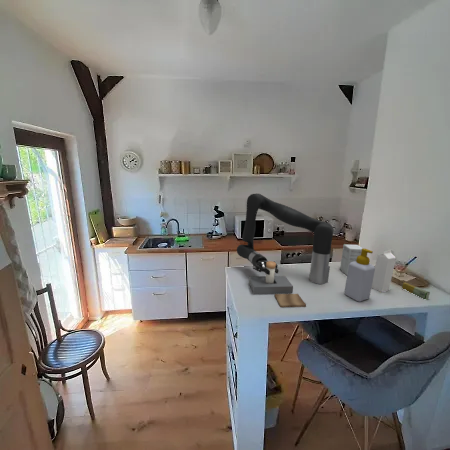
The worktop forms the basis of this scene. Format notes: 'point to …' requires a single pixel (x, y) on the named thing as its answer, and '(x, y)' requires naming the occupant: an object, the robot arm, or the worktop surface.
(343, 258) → the supplement box
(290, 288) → the grey base plate
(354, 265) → the soap bottle
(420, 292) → the medication box
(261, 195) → the robot arm
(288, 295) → the pad
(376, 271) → the milk
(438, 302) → the worktop surface
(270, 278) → the plug
